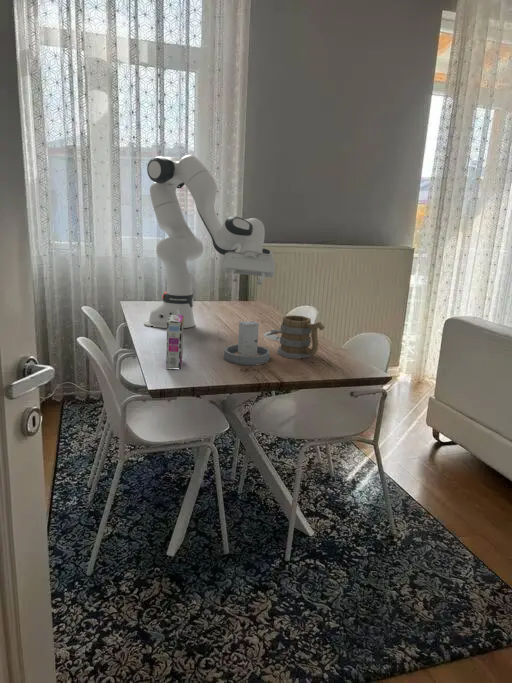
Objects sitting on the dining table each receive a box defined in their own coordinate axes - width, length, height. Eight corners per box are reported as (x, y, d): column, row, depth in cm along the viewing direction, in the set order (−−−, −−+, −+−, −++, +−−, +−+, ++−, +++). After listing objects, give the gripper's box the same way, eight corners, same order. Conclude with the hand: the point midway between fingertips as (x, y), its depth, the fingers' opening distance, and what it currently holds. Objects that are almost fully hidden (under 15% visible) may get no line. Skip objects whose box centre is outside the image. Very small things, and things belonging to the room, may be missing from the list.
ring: (275, 344, 211) (276, 339, 210) (256, 332, 228) (256, 328, 227) (316, 342, 219) (317, 337, 218) (295, 330, 236) (295, 326, 235)
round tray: (221, 363, 181) (221, 355, 180) (225, 350, 197) (226, 342, 196) (269, 366, 180) (270, 358, 180) (270, 353, 197) (270, 345, 196)
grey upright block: (243, 357, 185) (245, 324, 182) (236, 354, 189) (238, 321, 185) (257, 355, 189) (259, 323, 185) (250, 352, 192) (252, 320, 189)
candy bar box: (181, 370, 172) (182, 322, 167) (165, 369, 171) (166, 321, 167) (183, 360, 183) (184, 314, 178) (168, 359, 182) (169, 314, 178)
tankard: (271, 351, 199) (273, 313, 195) (296, 347, 207) (298, 311, 203) (305, 366, 184) (309, 325, 180) (331, 361, 191) (335, 321, 187)
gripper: (225, 246, 203) (220, 274, 197) (276, 251, 203) (273, 280, 196) (225, 256, 209) (220, 283, 202) (275, 261, 209) (272, 289, 202)
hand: (247, 282), depth 199 cm, fingers open, 8 cm apart
